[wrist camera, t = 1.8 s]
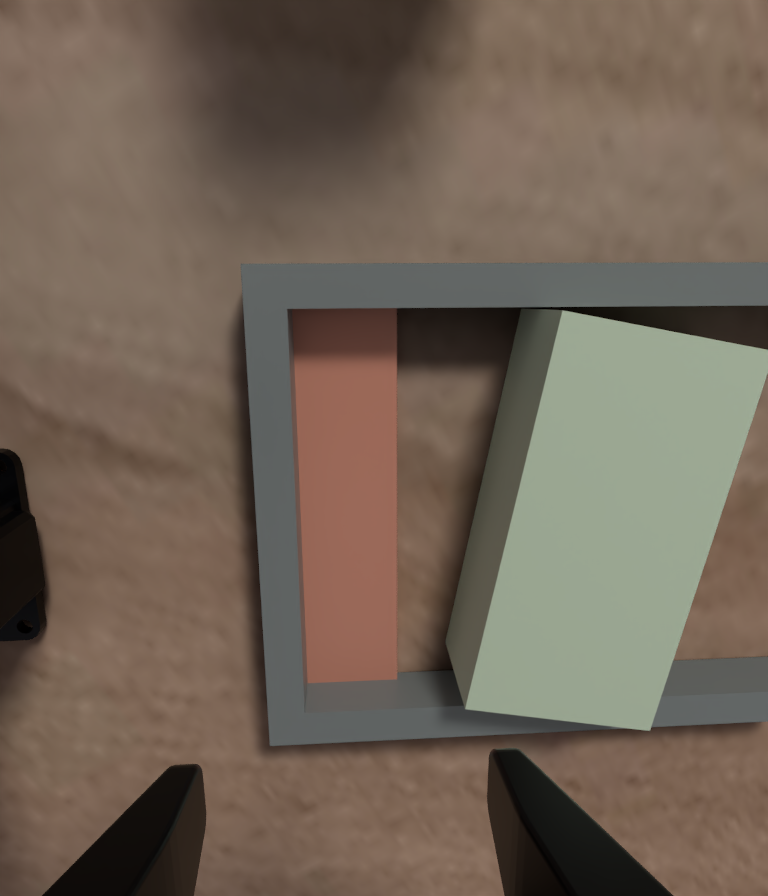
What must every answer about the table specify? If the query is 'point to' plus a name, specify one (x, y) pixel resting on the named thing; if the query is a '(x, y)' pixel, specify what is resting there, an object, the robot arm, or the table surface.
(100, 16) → the table surface
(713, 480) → the block
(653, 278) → the channel
